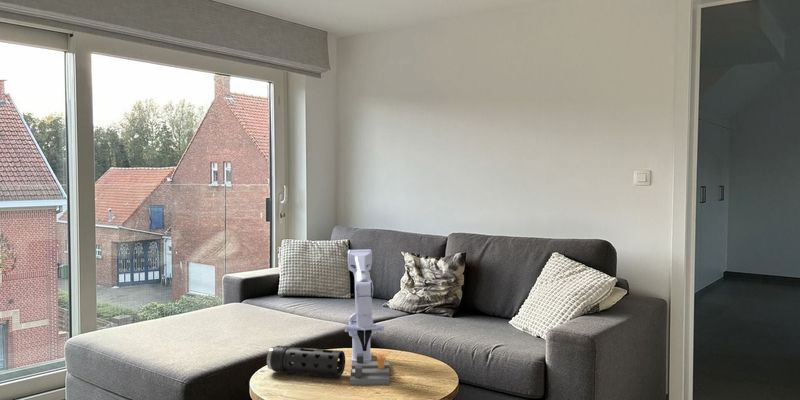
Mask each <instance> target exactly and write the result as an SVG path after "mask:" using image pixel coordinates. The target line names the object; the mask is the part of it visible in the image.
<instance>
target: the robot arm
mask: <svg viewBox="0 0 800 400" xmlns="http://www.w3.org/2000/svg"><path fill="white" fill-rule="evenodd" d="M372 264H373V250H371V248H370V249H348V250H347V268H348V271H350V272H352V274H353V277H354V299H355V300H354V301H355V304H354V305H355V306H354V307H355V312H354V313H353V314H351V315H350V316H349V318H348V324H347V325H346V324H345V325H344V332H345V333H348V335H349V336H350V337H351V338H352V339H351V340H352V341H351V342H352V346H351V347H352V349H351V350H352V353H351V359H350V362H357V354H363V361H372V352H371V338H372V336H373V335H374V333H375V332H376V331H377V332H384V331H385V325H384V324H375V323H374V318H373V296H374V283H373V281H372V279H371V274H370V270H372V269H371V268H372Z"/></svg>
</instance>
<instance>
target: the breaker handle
mask: <svg viewBox="0 0 800 400" xmlns="http://www.w3.org/2000/svg"><path fill="white" fill-rule="evenodd" d="M376 361H378V369H384V361H386V353H377V354H376Z"/></svg>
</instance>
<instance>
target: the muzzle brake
mask: <svg viewBox="0 0 800 400" xmlns="http://www.w3.org/2000/svg"><path fill="white" fill-rule="evenodd" d="M266 366H267V368H268V369H269V370H272V371H274V373H275V372H276V373H277V372H278V373H285V374H286V375H291V376H292V375H293V376H295V375H296V374H302V375H303V374H305V375H309V376H310V377H311V376H316V377H321V378H323V377H324V378H325V377H326V378H337V379H340V378H341V377H342V375H343V374H344V371H345V367H346V355H345V351H344V350H337V349H335V350H333V349H321V348H307V347H290V346H287V345H276V346H272V347H270V348H269V350H268V352H267V355H266Z"/></svg>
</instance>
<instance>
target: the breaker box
mask: <svg viewBox="0 0 800 400" xmlns="http://www.w3.org/2000/svg"><path fill="white" fill-rule="evenodd" d="M349 385H350V386H356V385H357V386H359V385H360V386H361V385H363V386H364V385H365V386H366V385H368V386H369V385H371V386H372V385H390V361H389V360H384V369H378V360H375V361H374V360H371V361H363V354H357V361H351V369H350V377H349Z"/></svg>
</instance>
